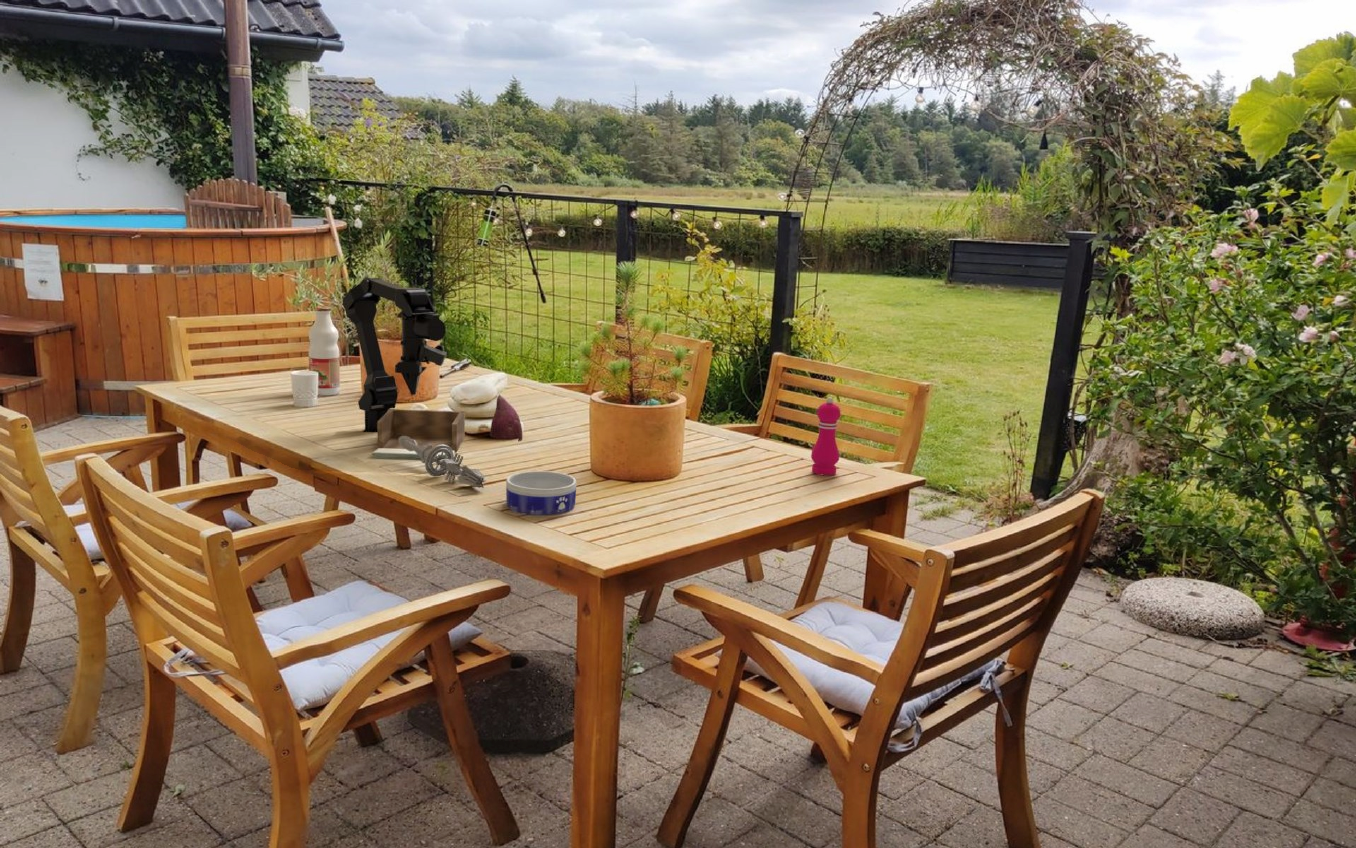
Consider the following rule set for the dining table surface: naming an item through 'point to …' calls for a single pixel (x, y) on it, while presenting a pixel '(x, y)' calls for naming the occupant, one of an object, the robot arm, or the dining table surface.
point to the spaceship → (444, 462)
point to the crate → (421, 428)
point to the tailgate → (398, 454)
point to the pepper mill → (826, 439)
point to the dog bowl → (540, 492)
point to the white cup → (305, 388)
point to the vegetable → (505, 422)
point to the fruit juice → (325, 352)
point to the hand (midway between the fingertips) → (413, 394)
